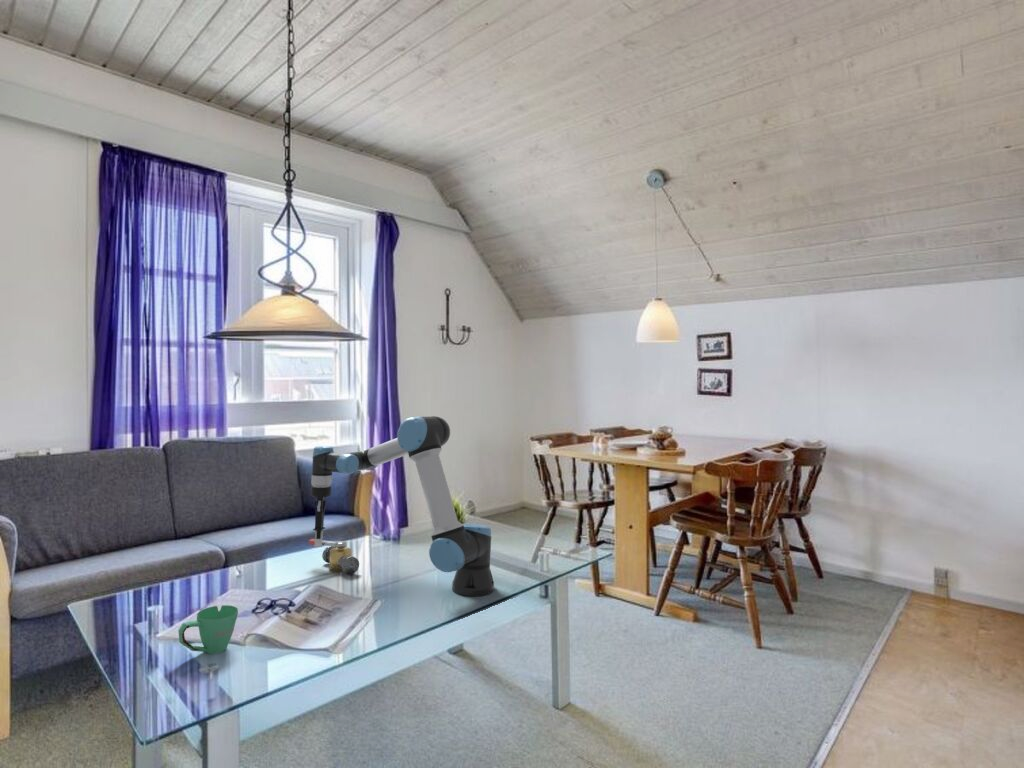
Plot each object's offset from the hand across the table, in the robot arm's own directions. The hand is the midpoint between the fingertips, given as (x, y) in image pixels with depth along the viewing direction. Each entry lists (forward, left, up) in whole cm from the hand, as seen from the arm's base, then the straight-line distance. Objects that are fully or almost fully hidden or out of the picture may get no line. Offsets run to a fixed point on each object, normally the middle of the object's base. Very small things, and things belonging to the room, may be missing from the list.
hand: (318, 546), depth 224 cm
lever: (-1, -4, 0) cm, 4 cm away
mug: (-53, +51, -9) cm, 74 cm away
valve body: (-5, -7, -9) cm, 12 cm away
